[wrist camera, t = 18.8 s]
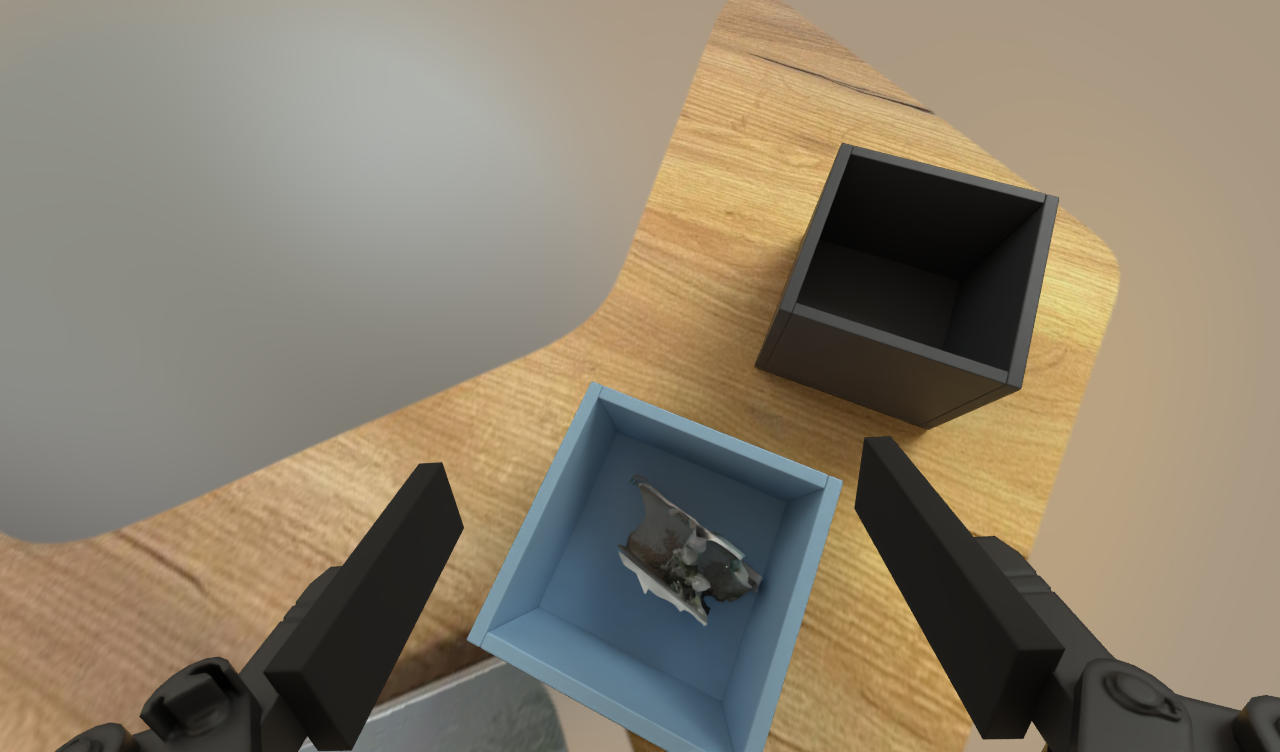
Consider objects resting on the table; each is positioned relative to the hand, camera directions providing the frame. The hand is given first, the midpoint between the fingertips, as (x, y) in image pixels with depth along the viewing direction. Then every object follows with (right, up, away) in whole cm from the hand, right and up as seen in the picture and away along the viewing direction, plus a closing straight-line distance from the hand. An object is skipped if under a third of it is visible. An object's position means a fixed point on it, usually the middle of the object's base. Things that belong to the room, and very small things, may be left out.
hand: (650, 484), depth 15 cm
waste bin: (+13, +7, +14) cm, 20 cm away
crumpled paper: (+2, -6, +10) cm, 12 cm away
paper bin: (+1, -6, +10) cm, 12 cm away
